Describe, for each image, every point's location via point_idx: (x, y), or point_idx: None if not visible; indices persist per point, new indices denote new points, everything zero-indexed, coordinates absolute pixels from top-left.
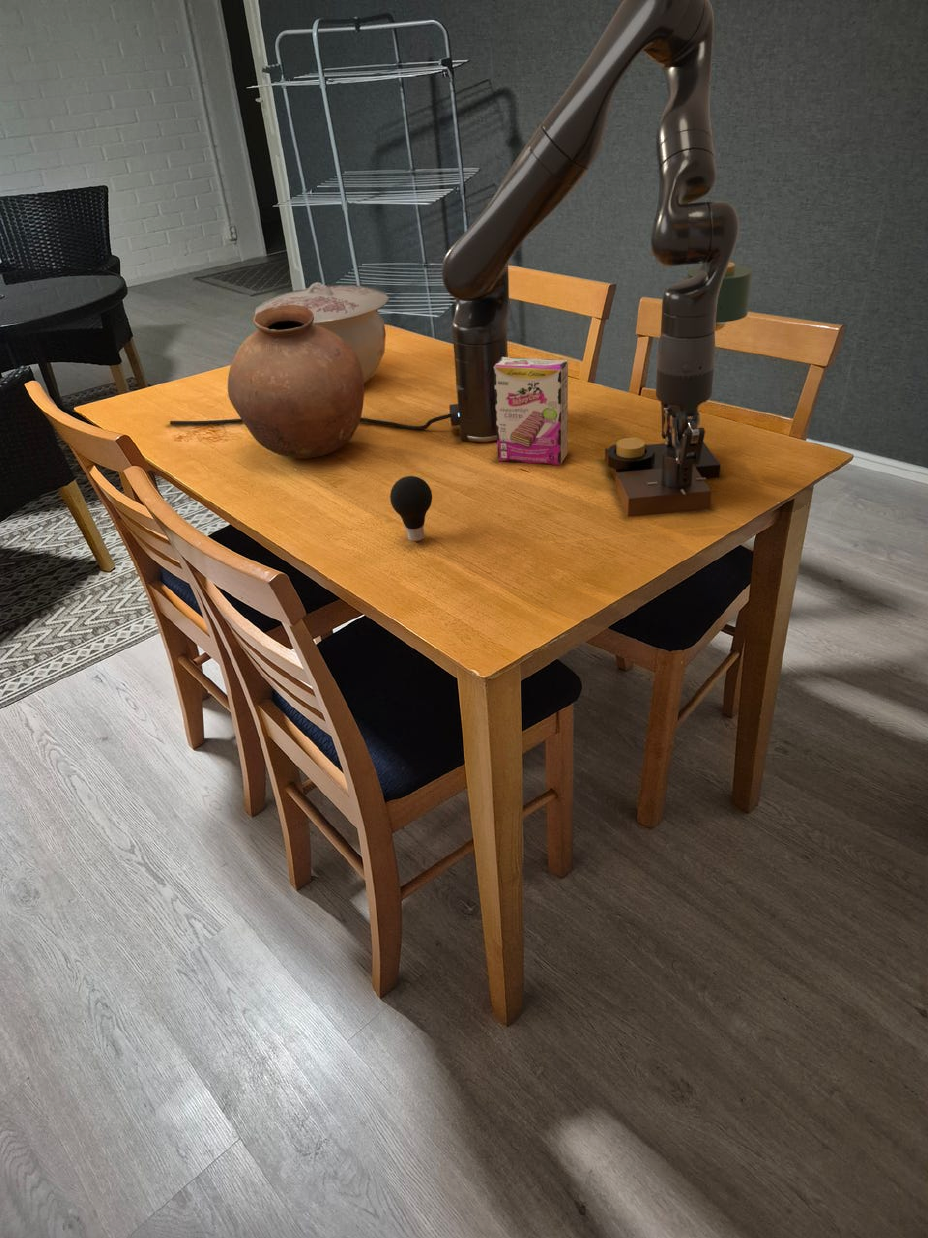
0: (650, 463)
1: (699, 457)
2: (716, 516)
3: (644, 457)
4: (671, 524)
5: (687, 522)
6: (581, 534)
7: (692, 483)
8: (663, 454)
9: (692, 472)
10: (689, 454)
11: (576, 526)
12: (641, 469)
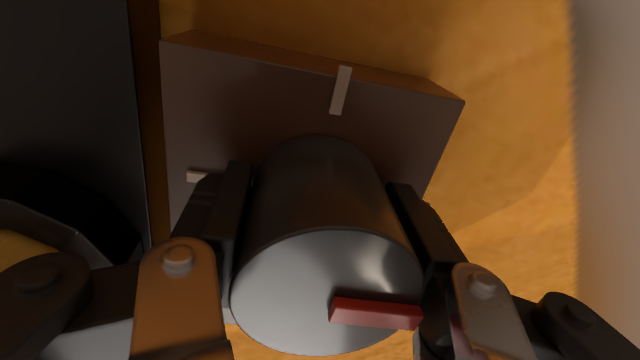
0: (101, 212)
1: (636, 351)
2: (481, 80)
3: (89, 257)
4: (439, 216)
5: (456, 177)
6: (375, 355)
7: (362, 144)
8: (305, 353)
9: (369, 173)
10: (450, 311)
11: (342, 356)
12: (138, 240)
